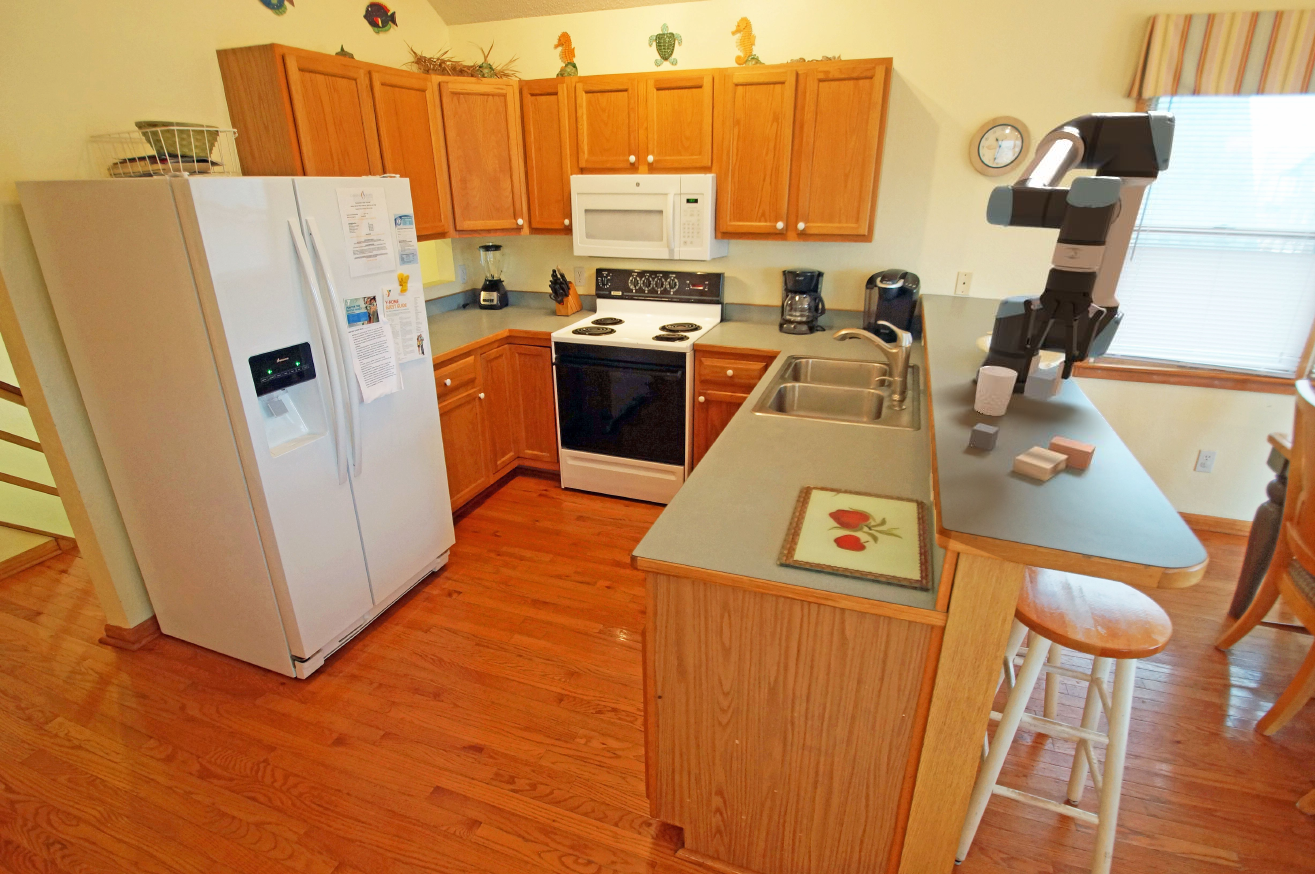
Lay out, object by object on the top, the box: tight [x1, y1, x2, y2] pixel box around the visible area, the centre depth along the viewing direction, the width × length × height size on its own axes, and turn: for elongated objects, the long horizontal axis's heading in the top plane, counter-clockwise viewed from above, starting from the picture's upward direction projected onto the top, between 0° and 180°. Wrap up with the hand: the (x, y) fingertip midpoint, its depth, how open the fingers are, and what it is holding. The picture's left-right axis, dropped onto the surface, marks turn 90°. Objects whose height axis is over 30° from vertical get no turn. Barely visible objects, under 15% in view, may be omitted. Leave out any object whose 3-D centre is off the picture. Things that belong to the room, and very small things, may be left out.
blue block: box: [1023, 368, 1057, 401], centre depth 124 cm, size 7×4×4 cm, turn 135°
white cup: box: [973, 366, 1017, 417], centre depth 152 cm, size 8×8×10 cm
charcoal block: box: [968, 422, 1000, 452], centre depth 134 cm, size 4×4×4 cm
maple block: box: [1011, 445, 1068, 482], centre depth 124 cm, size 9×6×3 cm, turn 129°
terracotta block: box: [1047, 435, 1096, 471], centre depth 127 cm, size 7×4×4 cm, turn 46°
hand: (1041, 391), depth 125 cm, fingers closed on blue block, 4 cm apart
